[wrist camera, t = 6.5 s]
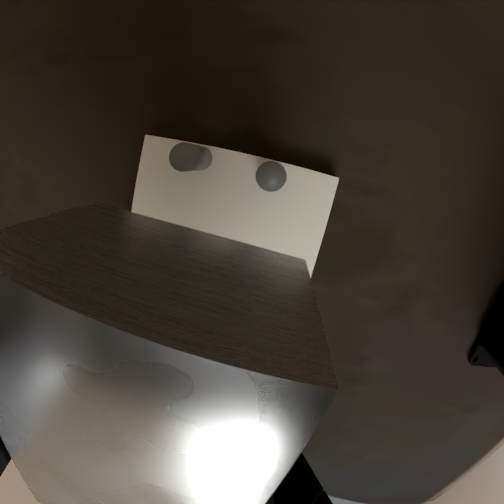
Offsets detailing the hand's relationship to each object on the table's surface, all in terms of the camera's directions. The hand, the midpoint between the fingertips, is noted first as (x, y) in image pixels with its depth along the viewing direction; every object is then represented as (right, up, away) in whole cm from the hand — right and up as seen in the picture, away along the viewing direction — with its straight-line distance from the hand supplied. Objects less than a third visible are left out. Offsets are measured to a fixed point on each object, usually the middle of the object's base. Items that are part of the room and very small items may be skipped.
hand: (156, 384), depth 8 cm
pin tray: (+1, +3, +9) cm, 10 cm away
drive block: (0, 0, +1) cm, 1 cm away
